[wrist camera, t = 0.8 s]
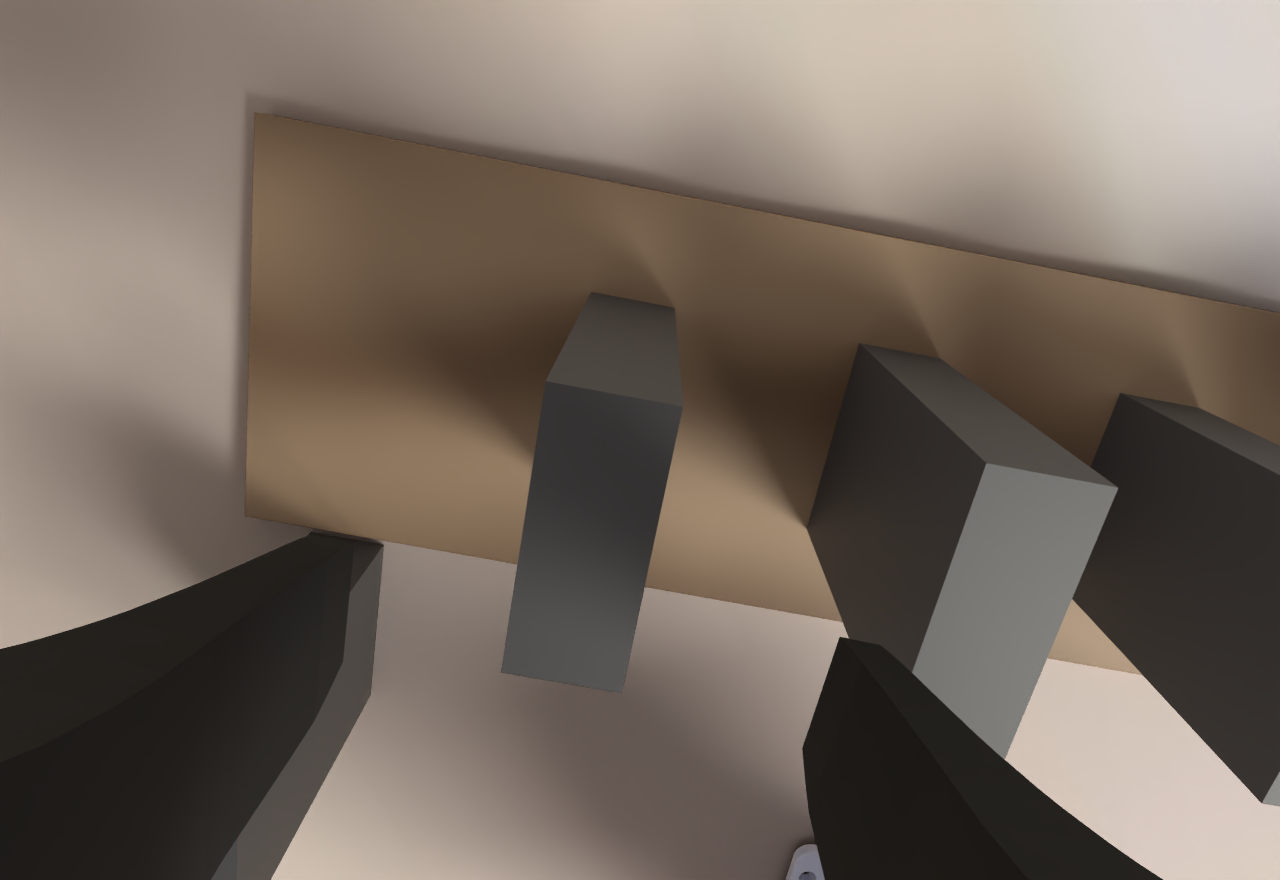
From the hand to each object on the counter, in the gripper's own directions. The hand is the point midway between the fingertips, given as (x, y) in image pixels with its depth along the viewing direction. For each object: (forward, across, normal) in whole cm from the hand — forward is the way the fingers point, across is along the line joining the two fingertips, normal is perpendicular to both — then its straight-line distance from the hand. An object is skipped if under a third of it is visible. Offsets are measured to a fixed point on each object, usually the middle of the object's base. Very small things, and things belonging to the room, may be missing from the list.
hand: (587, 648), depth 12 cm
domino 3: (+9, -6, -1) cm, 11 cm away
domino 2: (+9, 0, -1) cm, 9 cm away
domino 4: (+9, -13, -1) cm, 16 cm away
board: (+10, -10, -1) cm, 14 cm away
